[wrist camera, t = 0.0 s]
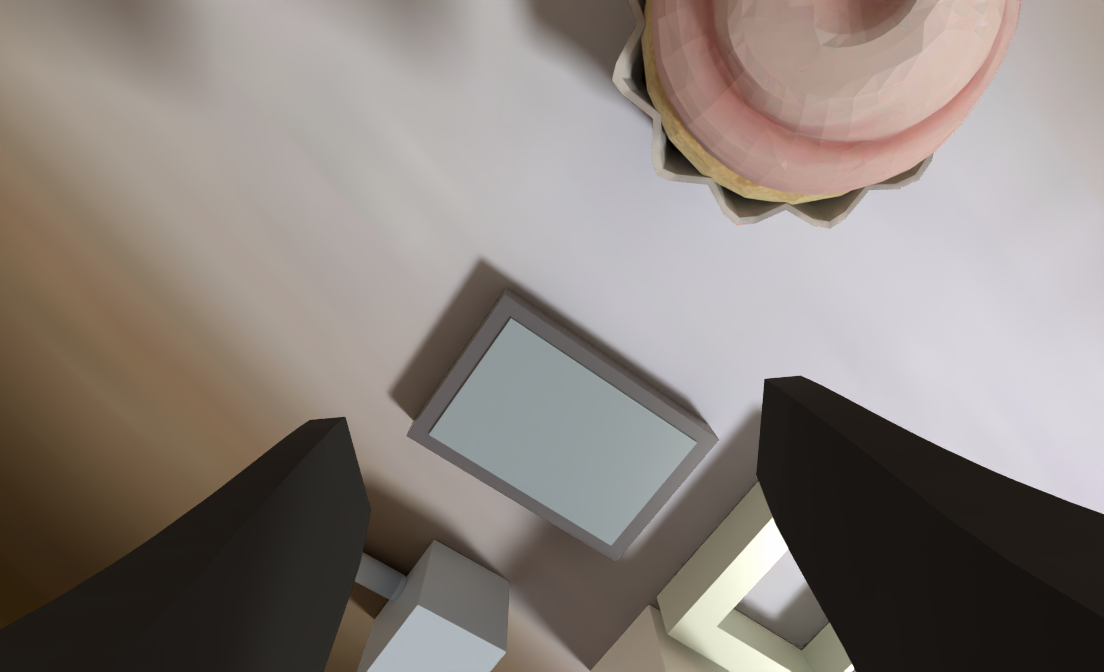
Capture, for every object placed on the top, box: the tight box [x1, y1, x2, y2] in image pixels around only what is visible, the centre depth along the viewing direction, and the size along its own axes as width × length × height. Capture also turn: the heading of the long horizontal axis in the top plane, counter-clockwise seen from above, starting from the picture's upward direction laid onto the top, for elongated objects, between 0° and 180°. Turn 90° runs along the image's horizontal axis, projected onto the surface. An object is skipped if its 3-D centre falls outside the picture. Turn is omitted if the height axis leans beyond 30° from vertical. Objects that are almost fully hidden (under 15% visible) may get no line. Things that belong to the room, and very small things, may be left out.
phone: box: [406, 288, 719, 562], centre depth 21 cm, size 6×9×1 cm, turn 55°
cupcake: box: [612, 0, 1022, 228], centre depth 14 cm, size 9×9×10 cm
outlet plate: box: [657, 481, 856, 672], centre depth 23 cm, size 8×12×2 cm, turn 55°
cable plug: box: [355, 540, 510, 672], centre depth 21 cm, size 4×8×4 cm, turn 55°
